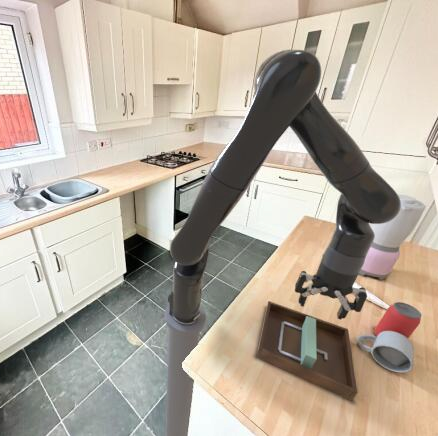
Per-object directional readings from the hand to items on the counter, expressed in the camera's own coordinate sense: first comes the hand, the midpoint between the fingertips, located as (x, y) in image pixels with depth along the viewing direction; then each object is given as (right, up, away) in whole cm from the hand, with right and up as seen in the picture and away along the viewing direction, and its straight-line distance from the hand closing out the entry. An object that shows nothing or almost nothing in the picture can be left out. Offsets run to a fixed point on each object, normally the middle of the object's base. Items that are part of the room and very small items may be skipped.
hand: (319, 310), depth 66 cm
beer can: (+25, -11, +6) cm, 28 cm away
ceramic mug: (+18, -13, +2) cm, 23 cm away
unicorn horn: (+29, -2, +23) cm, 37 cm away
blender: (+44, +5, +34) cm, 56 cm away
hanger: (-1, -12, +4) cm, 13 cm away
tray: (-2, -12, +4) cm, 13 cm away
